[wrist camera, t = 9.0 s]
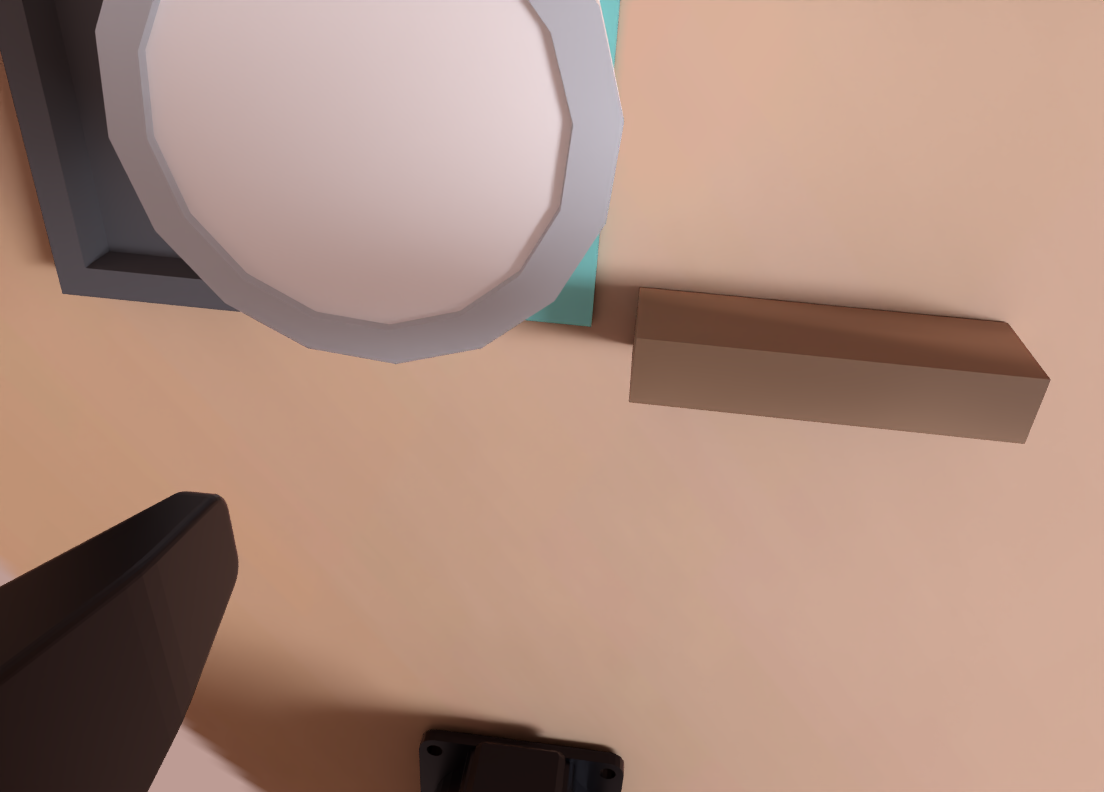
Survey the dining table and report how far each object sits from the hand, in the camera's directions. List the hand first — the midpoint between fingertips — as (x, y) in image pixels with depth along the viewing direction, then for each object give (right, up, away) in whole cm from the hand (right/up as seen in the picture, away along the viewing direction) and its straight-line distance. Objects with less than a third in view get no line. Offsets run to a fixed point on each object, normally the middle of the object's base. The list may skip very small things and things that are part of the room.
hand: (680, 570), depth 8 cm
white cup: (-3, +9, +9) cm, 13 cm away
